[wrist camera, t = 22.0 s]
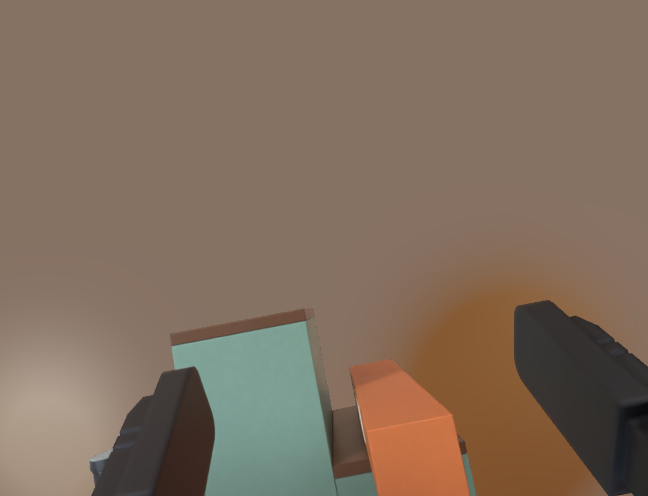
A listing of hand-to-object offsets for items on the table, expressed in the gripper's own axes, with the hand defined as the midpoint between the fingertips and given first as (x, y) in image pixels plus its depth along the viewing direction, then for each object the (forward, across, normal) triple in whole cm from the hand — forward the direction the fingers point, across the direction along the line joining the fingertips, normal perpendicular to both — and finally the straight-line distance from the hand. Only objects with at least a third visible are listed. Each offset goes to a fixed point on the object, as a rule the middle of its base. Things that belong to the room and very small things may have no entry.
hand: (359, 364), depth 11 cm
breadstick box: (+14, -2, +18) cm, 22 cm away
